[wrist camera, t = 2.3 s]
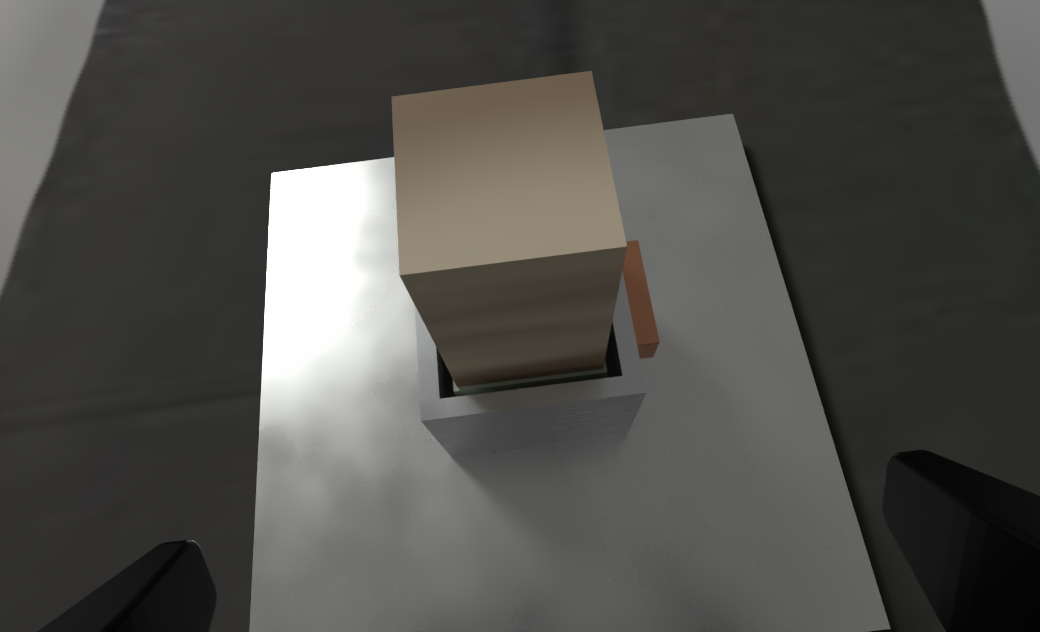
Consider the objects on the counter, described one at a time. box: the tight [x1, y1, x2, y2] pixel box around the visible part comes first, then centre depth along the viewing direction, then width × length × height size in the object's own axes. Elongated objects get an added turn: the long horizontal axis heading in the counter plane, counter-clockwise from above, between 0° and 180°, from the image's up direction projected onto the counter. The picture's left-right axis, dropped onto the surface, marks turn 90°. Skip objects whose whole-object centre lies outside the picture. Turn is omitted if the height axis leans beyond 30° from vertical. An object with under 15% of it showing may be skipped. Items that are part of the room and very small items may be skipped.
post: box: [392, 71, 627, 397], centre depth 16 cm, size 4×4×10 cm
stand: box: [250, 114, 891, 632], centre depth 20 cm, size 18×18×6 cm
